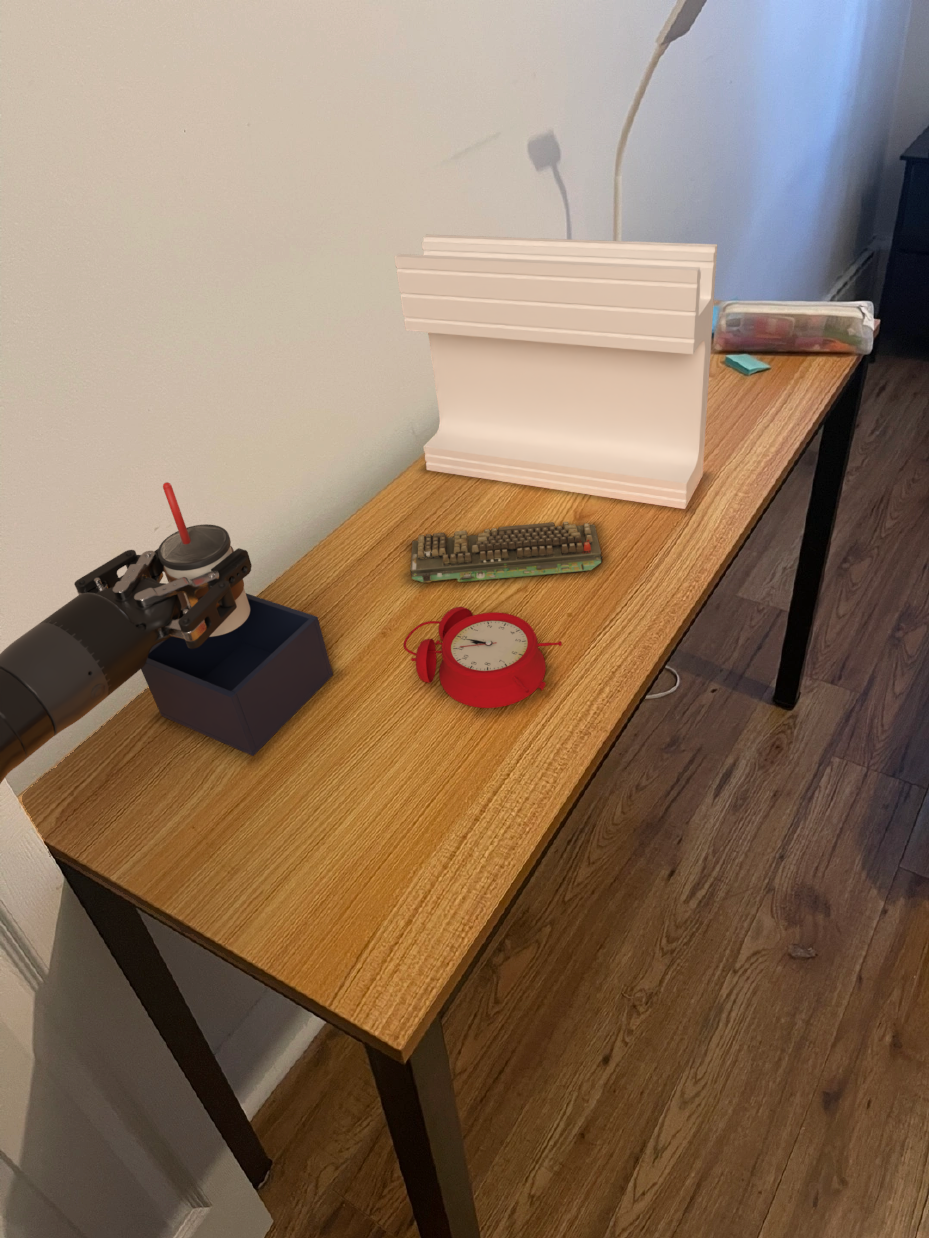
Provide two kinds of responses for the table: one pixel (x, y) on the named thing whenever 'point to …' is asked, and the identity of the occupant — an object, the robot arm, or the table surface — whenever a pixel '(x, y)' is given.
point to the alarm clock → (483, 658)
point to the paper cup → (199, 560)
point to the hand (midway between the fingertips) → (218, 549)
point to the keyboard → (506, 553)
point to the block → (567, 361)
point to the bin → (241, 676)
